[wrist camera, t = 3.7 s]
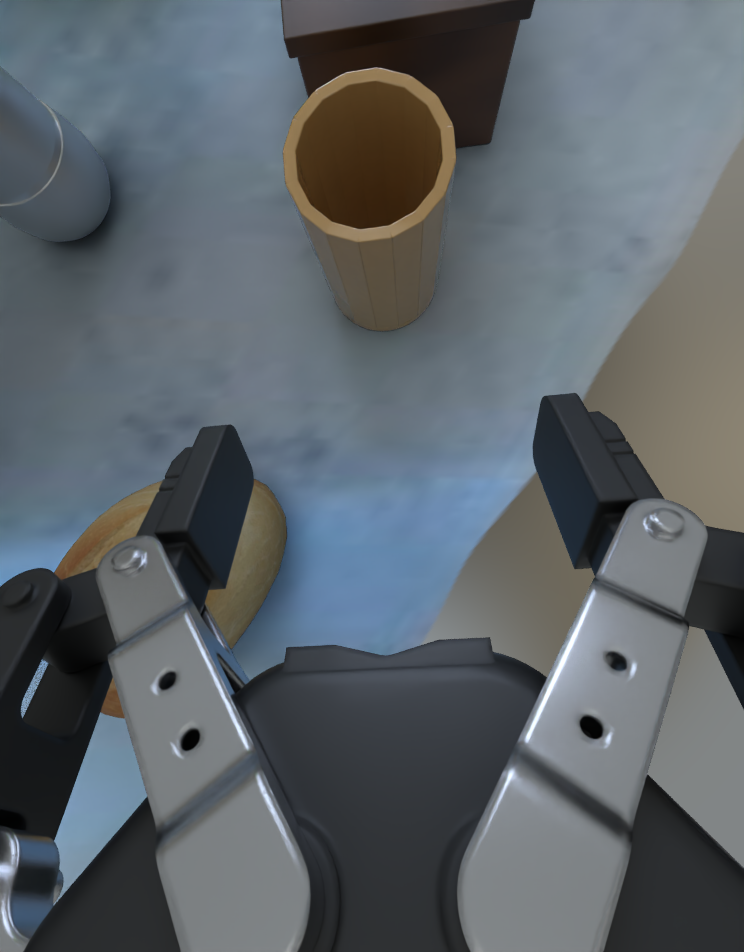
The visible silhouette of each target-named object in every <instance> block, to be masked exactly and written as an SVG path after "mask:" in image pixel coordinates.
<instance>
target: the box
mask: <svg viewBox="0 0 744 952" xmlns="http://www.w3.org/2000/svg"><path fill="white" fill-rule="evenodd" d="M534 2H535V0H281V9H282V21H283V34H284V41H285V45H286V48H287V52H288V55H289V58H296V57H297V58H298V62H299V65H300V69H301V73H302V77H303V80H304V84H305V88H306V92H307V95H308V98H309V97H310V96H311V94H312V93H313V92H315V90H316V89H318V88H320V87H321V86H323V85H325V84H326V83H328V82H330V81H331V80H333V79H335V78H336V77H338V76H340V75H342V74H345V73H346V72H352V71H358V70H364V69H371V68H382V69H387V70H391V71H395V72H399V73H403V74H407V75H410V76H412V77H414V78H415V79H416V80H418V81H419V82H420V83H421V84H423V85H424V86H425V87H427V88H428V89H429V90H431V91H432V92H433V93H435V94H436V95H437V96H438V98H439V100H440V101H441V103H442V105H443V107H444V109H445V111H446V113H447V114H448V116H449V118H450V120H451V122H452V124H453V127H454V135H455V147H456V148H459V147H466V146H473V145H480V144H487V143H490V142H491V139H492V135H493V130H494V126H495V122H496V118H497V114H498V110H499V106H500V102H501V97H502V93H503V89H504V85H505V81H506V77H507V73H508V69H509V65H510V60H511V56H512V52H513V48H514V44H515V40H516V36H517V32H518V27H519V23H520V20H524V19H529V18H530V17H531V13H532V9H533V6H534Z"/></svg>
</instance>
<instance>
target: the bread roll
mask: <svg viewBox="0 0 744 952" xmlns="http://www.w3.org/2000/svg"><path fill="white" fill-rule="evenodd" d="M161 483H162V481H160V482H157V483H155V484H152V485H149V486H147V487H145V488H143V489H141V490H139V491H137V492H135V493H133V494H131V495H129V496H127V497H126V498H124V499H122V500H121V501H119V502H118V503H116V504H115V505H113V506H112V507H111V508H109V509H108V510H107V511H106V512H105V513H103V514H102V515H101V516H99V517H98V518H97V519H96V520H95V521H94V522H93V523H92V524H91V525H90V526H89V527H88V528H87V530H86V531H85V532H84V533H83V534H82V535H81V536H80V538H79V539H78V540H77V541H76V542H75V543H74V544H73V546H72V547H71V548H70V550H69V551H68V552H67V554H66V555H65V556H64V558H63V559H62V561H61V562H60V564H59V566H58V567H57V569H56V571H55V572H54V573H55V574H56V575H57V576H58V577H59V578H60V579H61V580H62V579H65V578H68V577H71V576H74V575H77V574H80V573H83V572H86V571H89V570H92V569H94V568H97V566H98V564H99V562H100V561H101V559H102V558H103V557H104V555H105V554H106V553H107V552H108V551H109V550H110V549H111V548H113V547H114V546H115V545H117V544H119V543H120V542H122V541H124V540H126V539H129V538H132V537H135V536H136V534H137V532H138V530H139V528H140V526H141V524H142V522H143V520H144V518H145V516H146V514H147V512H148V510H149V508H150V506H151V504H152V502H153V499H154V497H155V495H156V493H157V492H159V487H160V485H161ZM286 539H287V528H286V517H285V515H284V512H283V510H282V508H281V506H280V504H279V503H278V501H277V499H276V498H275V496H274V494H273V493H272V491H271V490H270V489H269V488H268V487H267V486H266V485H265V484H263V483H261V482H259V481H257V480H255V479H254V485H253V490H252V494H251V498H250V501H249V505H248V509H247V512H246V516H245V520H244V523H243V527H242V531H241V534H240V538H239V541H238V545H237V549H236V552H235V556H234V560H233V563H232V567H231V571H230V574H229V578H228V582H227V585H226V589H217V590H208V594H207V597H206V600H205V603H206V604H207V605H208V607H209V609H210V611H211V613H212V615H213V616H214V618H215V620H216V622H217V624H218V626H219V628H220V630H221V632H222V634H223V635H224V637H225V639H226V641H227V643H228V645H229V647H230V649H232V648H233V647H234V645H235V644H236V643H237V641H238V640H239V638H240V637H241V636H242V634H243V633H244V631H245V630H246V629H247V627H248V626H249V624H250V623H251V621H252V620H253V618H254V617H255V615H256V614H257V612H258V610H259V609H260V607H261V606H262V604H263V602H264V600H265V598H266V596H267V594H268V592H269V590H270V588H271V586H272V584H273V582H274V580H275V578H276V576H277V574H278V571H279V568H280V565H281V561H282V557H283V554H284V549H285V544H286ZM101 713H103V714H106V715H110V716H113V717H118V718H125V717H124V714H123V710H122V707H121V703H120V700H119V696H118V693H117V690H116V686H115V683H114V679H113V678H112V681H111V684H110V686H109V689H108V692H107V695H106V698H105V700H104V703H103V706H102V709H101Z"/></svg>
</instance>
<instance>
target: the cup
mask: <svg viewBox="0 0 744 952" xmlns="http://www.w3.org/2000/svg"><path fill="white" fill-rule="evenodd" d="M283 162H284V174H285V184H286V187H287V189H288V192H289V194H290V197H291V199H292V201H293V204H294V206H295V208H296V211H297V213H298V216H299V218H300V220H301V223H302V225H303V227H304V230H305V232H306V235H307V237H308V239H309V242H310V244H311V246H312V249H313V251H314V254H315V256H316V258H317V261H318V263H319V265H320V268H321V270H322V273H323V275H324V277H325V280H326V282H327V284H328V287H329V289H330V291H331V293H332V295H333V297H334V299H335V302H336V304H337V305H338V307H339V309H340V310H341V311H342V313H343V314H344V315H345V316H346V317H347V318H348V319H349V320H351V321H352V322H353V323H355V324H357V325H359V326H361V327H363V328H366V329H369V330H374V331H390V330H395V329H398V328H402V327H404V326H406V325H408V324H410V323H411V322H413V321H415V320H416V319H417V318H418V317H419V316H420V315H421V314H422V313H423V312H424V311H425V310H426V309H427V307H428V306H429V304H430V302H431V301H432V299H433V296H434V294H435V291H436V287H437V282H438V279H439V273H440V267H441V260H442V253H443V247H444V240H445V233H446V226H447V220H448V213H449V206H450V200H451V193H452V186H453V179H454V173H455V166H456V147H455V135H454V127H453V124H452V122H451V120H450V118H449V116H448V114H447V113H446V111H445V109H444V107H443V105H442V103H441V101H440V100H439V98H438V96H437V95H436V94H435V93H433V92H432V91H431V90H429V89H428V88H427V87H425V86H424V85H423V84H421V83H420V82H419V81H418V80H416V79H415V78H414V77H412V76H410V75H407V74H403V73H399V72H395V71H391V70H387V69H382V68H371V69H364V70H358V71H352V72H346V73H345V74H342V75H340V76H338V77H336V78H335V79H333V80H331V81H330V82H328V83H326V84H325V85H323V86H321V87H320V88H318V89H316V90H315V92H313V93H312V94H311V96H310V97H309V98H308V99H307V101H306V102H305V103H304V104H303V106H302V107H301V108H300V110H299V111H298V112H297V113H296V115H295V116H294V118H293V119H292V122H291V126H290V129H289V132H288V135H287V139H286V142H285V145H284V148H283Z"/></svg>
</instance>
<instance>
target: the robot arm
mask: <svg viewBox="0 0 744 952" xmlns="http://www.w3.org/2000/svg"><path fill="white" fill-rule="evenodd" d="M533 459H534V464H535V467H536V470H537V472H538V475H539V478H540V480H541V483H542V485H543V488H544V491H545V493H546V496H547V498H548V501H549V504H550V506H551V509H552V511H553V514H554V517H555V519H556V522H557V524H558V527H559V530H560V532H561V535H562V538H563V540H564V543H565V545H566V548H567V551H568V553H569V556H570V558H571V561H572V564H573V566H574V569H583V568H592V570H593V573H594V575H595V578H594V579H593V581H592V583H591V586H590V588H589V590H588V592H587V594H586V596H585V598H584V601H583V603H582V605H581V607H580V609H579V611H578V614H577V615H576V618H575V620H574V622H573V624H572V626H571V628H570V631H569V632H568V635H567V637H566V639H565V641H564V643H563V645H562V647H561V650H560V652H559V654H558V656H557V658H556V660H555V662H554V664H553V667H552V669H551V671H550V673H549V675H548V677H545V676H544V675H543V674H541V673H540V672H539V671H537V670H535V669H534V668H532V667H530V666H529V665H527V664H525V663H523V662H521V661H519V660H516V659H515V658H512V657H509V656H506V655H503V654H499V653H495V652H493V651H492V646H491V640H490V637H489V638H470V639H469V638H468V639H448V640H437V641H434V642H430V643H427V644H424V645H421V646H418V647H415V648H411V649H408V650H405V651H402V652H399V653H396V654H392V655H387V656H384V655H378V654H373V653H369V652H364V651H360V650H355V649H351V648H346V647H342V646H337V645H325V646H304V647H286V654H285V661H284V663H281V664H278V665H276V666H274V667H272V668H270V669H267V670H266V671H264V672H263V673H261V674H259V675H258V676H256V677H255V678H253V679H252V680H251V681H249V679H248V677H247V676H246V674H245V673H244V671H243V670H242V668H241V667H240V665H239V663H238V662H237V660H236V658H235V656H234V654H233V652H232V651H231V649H230V647H229V645H228V643H227V641H226V639H225V637H224V635H223V634H222V632H221V630H220V628H219V626H218V624H217V622H216V620H215V618H214V616H213V615H212V613H211V611H210V609H209V607H208V605H207V604H206V603H205V600H206V597H207V594H208V590H217V589H226V585H227V582H228V578H229V574H230V571H231V567H232V563H233V560H234V556H235V552H236V549H237V545H238V541H239V538H240V534H241V531H242V527H243V523H244V520H245V516H246V512H247V509H248V505H249V501H250V498H251V494H252V490H253V485H254V476H253V470H252V466H251V464H250V461H249V459H248V457H247V454H246V452H245V450H244V447H243V445H242V443H241V440H240V438H239V436H238V433H237V431H236V429H235V428H234V426H232V425H221V426H210V427H203V428H201V430H200V431H199V434H198V436H197V438H196V440H195V442H194V445H193V447H187V448H185V449H184V450H183V451H182V452H181V453H180V454H179V455H178V456H177V457H176V458H175V459H174V460H173V461H172V462H171V465H170V467H169V469H168V471H167V473H166V475H165V479H163V481H162V483H161V485H160V487H159V492H157V493H156V495H155V497H154V499H153V502H152V504H151V506H150V508H149V510H148V512H147V514H146V516H145V518H144V520H143V522H142V524H141V526H140V528H139V530H138V532H137V534H136V536H135V537H132V538H129V539H126V540H124V541H122V542H120V543H119V544H117V545H115V546H114V547H113V548H111V549H110V550H109V551H108V552H107V553H106V554H105V555H104V557H103V558H102V559H101V561H100V562H99V564H98V566H97V568H94V569H92V570H89V571H86V572H83V573H80V574H77V575H74V576H71V577H68V578H65V579H62V580H61V579H60V578H59V577H58V576H57V575H56V574H55V573H53V572H52V571H51V570H49V569H45V568H37V569H31V570H28V571H25V572H23V573H21V574H18V575H17V576H15V577H13V578H12V579H10V580H8V581H7V582H6V583H4V584H3V585H2V586H1V587H0V952H744V868H743V867H742V866H741V865H740V864H739V863H738V862H737V861H736V860H735V859H734V858H733V857H732V856H731V855H730V854H729V853H728V852H727V851H726V850H725V849H724V848H723V847H722V846H721V845H720V844H719V843H718V842H717V841H715V840H714V839H713V838H712V837H711V836H710V835H709V834H708V833H707V832H706V831H705V830H704V829H703V828H702V827H701V826H700V825H699V824H698V823H697V822H696V821H695V820H694V819H693V818H692V817H691V816H690V815H689V814H687V812H686V811H685V810H684V809H683V808H681V807H680V806H679V805H678V804H677V803H676V802H675V801H674V800H673V799H672V798H671V797H670V796H669V795H668V794H667V793H666V792H665V791H664V790H663V789H662V788H661V787H660V786H659V785H658V784H657V783H656V782H655V781H654V780H653V779H652V778H651V777H650V776H649V775H647V773H648V769H649V766H650V763H651V759H652V755H653V752H654V749H655V745H656V742H657V738H658V734H659V732H660V728H661V725H662V721H663V717H664V714H665V711H666V707H667V704H668V700H669V697H670V694H671V690H672V687H673V683H674V679H675V676H676V673H677V669H678V666H679V663H680V659H681V656H682V652H683V649H684V645H685V642H686V638H687V635H688V630H689V626H692V627H697V628H701V629H704V630H705V632H706V634H707V636H708V638H709V640H710V642H711V644H712V646H713V648H714V650H715V652H716V654H717V656H718V658H719V660H720V662H721V664H722V667H723V668H724V671H725V673H726V675H727V676H728V679H729V681H730V683H731V685H732V687H733V689H734V691H735V692H736V695H737V697H738V699H739V701H740V703H741V705H742V707H743V709H744V533H742V532H736V531H730V530H724V529H718V528H713V527H708V526H705V525H704V523H703V522H702V520H701V519H700V518H699V517H698V516H697V515H696V514H695V513H693V512H692V511H691V510H689V509H688V508H686V507H684V506H682V505H680V504H677V503H675V502H672V501H669V500H665V499H664V498H663V496H662V494H661V493H660V491H659V490H658V488H657V487H656V485H655V484H654V482H653V480H652V479H651V477H650V476H649V474H648V473H647V471H646V469H645V468H644V467H643V465H642V463H641V462H640V460H639V459H638V457H637V455H636V454H634V453H633V449H632V448H631V446H630V445H629V443H628V442H626V440H625V437H624V435H623V434H622V432H621V431H620V429H619V428H618V426H617V424H616V423H614V422H613V421H612V420H610V419H609V418H608V417H606V416H605V415H603V414H602V413H601V412H599V411H597V412H588V411H587V409H586V407H585V406H584V404H583V402H582V401H581V399H580V397H579V396H578V395H577V394H576V393H571V394H560V395H549V396H544V397H543V398H542V400H541V403H540V408H539V414H538V419H537V425H536V430H535V435H534V441H533ZM42 659H43V660H45V661H46V662H48V663H49V664H48V666H47V668H46V670H45V672H44V674H43V676H42V679H41V681H40V683H39V685H38V687H37V689H36V691H35V693H34V696H33V698H32V700H31V702H30V704H29V706H28V708H27V710H26V712H25V715H24V717H23V719H22V716H21V704H22V700H23V698H24V695H25V693H26V691H27V689H28V687H29V685H30V683H31V681H32V679H33V677H34V675H35V673H36V671H37V669H38V667H39V664H40V662H41V660H42ZM112 678H113V679H114V683H115V686H116V690H117V693H118V696H119V700H120V703H121V707H122V710H123V714H124V717H125V720H126V724H127V727H128V731H129V734H130V738H131V741H132V744H133V748H134V751H135V755H136V758H137V762H138V765H139V769H140V772H141V775H142V779H143V782H144V786H145V789H146V793H147V798H146V799H145V800H144V801H143V802H142V803H141V805H140V806H139V807H138V808H137V809H136V810H135V812H134V813H133V814H132V815H131V816H130V817H129V819H128V820H127V821H126V822H125V823H124V824H123V826H122V827H121V828H120V829H119V830H118V831H117V833H116V834H115V835H114V836H113V837H112V838H111V840H110V841H109V842H108V843H107V844H106V845H105V847H104V848H103V849H102V850H101V851H100V852H99V854H98V855H97V856H96V857H95V858H94V859H93V861H92V862H91V863H90V864H89V865H88V867H87V868H86V869H85V870H84V871H83V872H82V874H81V875H80V876H79V877H78V878H77V879H76V881H75V882H74V883H73V884H72V885H71V886H70V888H69V889H68V890H67V891H66V892H65V893H64V895H63V896H62V897H61V898H60V899H59V900H58V902H57V903H56V904H55V905H54V906H53V904H54V903H55V901H56V900H57V898H58V897H59V895H60V893H61V890H62V887H63V874H62V872H61V871H60V870H59V865H60V858H59V851H58V848H57V846H56V843H55V842H54V840H55V837H56V834H57V831H58V828H59V826H60V823H61V820H62V817H63V815H64V812H65V809H66V806H67V803H68V801H69V798H70V795H71V792H72V789H73V787H74V784H75V781H76V778H77V776H78V773H79V770H80V767H81V764H82V762H83V759H84V756H85V753H86V750H87V748H88V745H89V742H90V739H91V737H92V734H93V731H94V728H95V725H96V723H97V720H98V717H99V714H100V712H101V709H102V706H103V703H104V700H105V698H106V695H107V692H108V689H109V686H110V684H111V681H112Z"/></svg>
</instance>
